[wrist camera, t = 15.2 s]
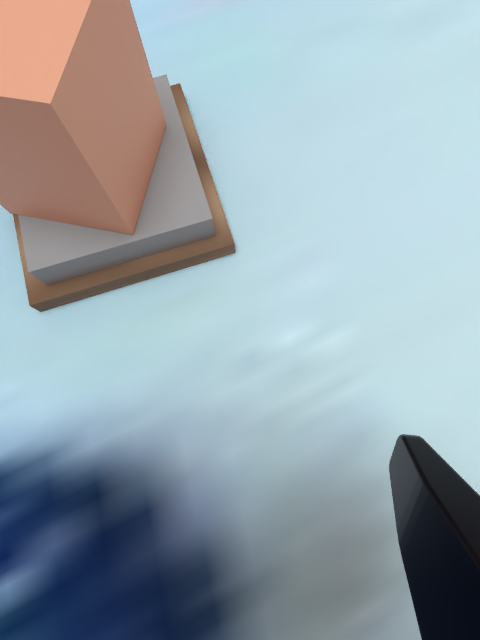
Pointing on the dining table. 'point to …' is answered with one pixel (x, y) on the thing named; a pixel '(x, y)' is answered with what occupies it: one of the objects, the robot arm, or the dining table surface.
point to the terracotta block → (76, 113)
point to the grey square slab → (153, 222)
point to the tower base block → (149, 265)
